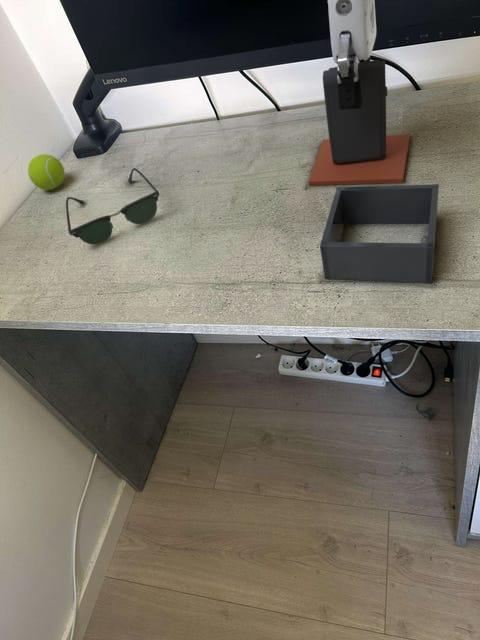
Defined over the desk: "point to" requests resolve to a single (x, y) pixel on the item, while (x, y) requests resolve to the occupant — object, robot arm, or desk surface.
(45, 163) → the tennis ball
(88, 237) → the sunglasses
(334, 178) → the mat
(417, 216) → the grey open bin
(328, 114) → the card reader
